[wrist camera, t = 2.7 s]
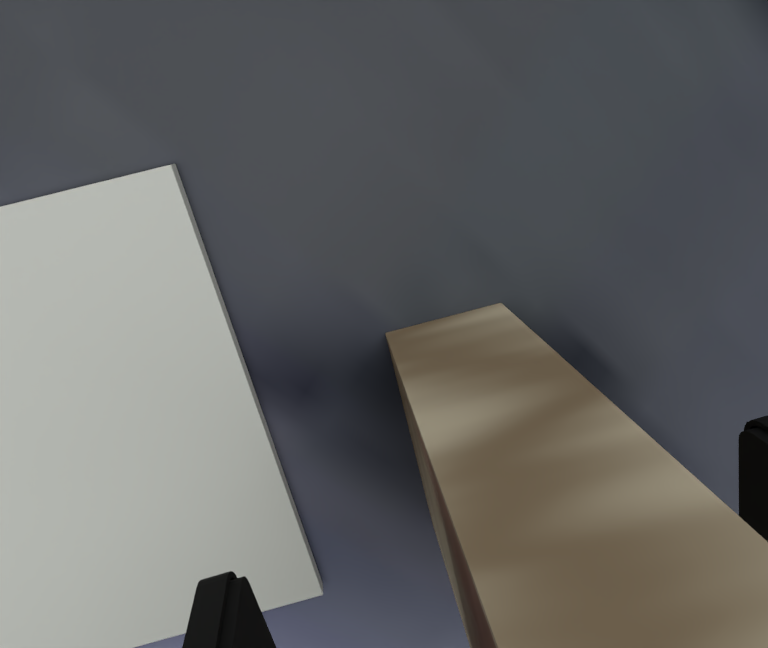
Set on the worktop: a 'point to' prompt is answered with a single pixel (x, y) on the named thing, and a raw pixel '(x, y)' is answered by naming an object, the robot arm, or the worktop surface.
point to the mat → (128, 426)
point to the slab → (565, 502)
